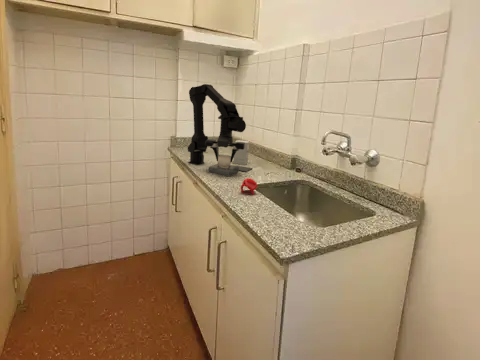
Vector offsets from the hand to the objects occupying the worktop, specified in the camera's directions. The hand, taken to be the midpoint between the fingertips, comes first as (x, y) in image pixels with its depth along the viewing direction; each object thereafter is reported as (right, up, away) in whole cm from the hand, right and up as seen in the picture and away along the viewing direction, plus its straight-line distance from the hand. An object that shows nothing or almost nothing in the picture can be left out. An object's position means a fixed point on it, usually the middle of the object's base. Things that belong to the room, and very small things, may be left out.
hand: (224, 161), depth 152 cm
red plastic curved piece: (+11, -14, -28) cm, 33 cm away
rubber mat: (+8, -3, +11) cm, 14 cm away
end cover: (0, -4, +1) cm, 4 cm away
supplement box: (+8, 0, +26) cm, 27 cm away
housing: (0, -5, +1) cm, 5 cm away
